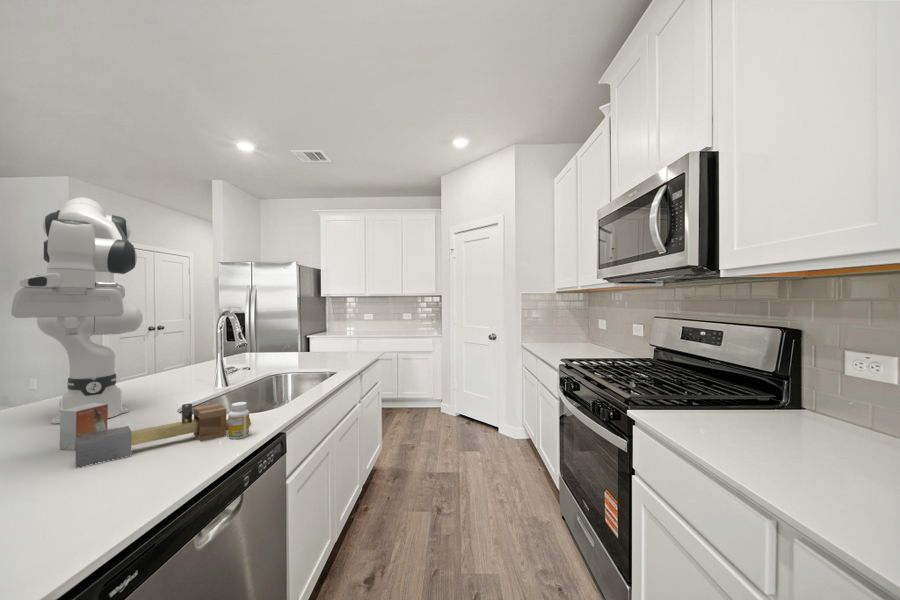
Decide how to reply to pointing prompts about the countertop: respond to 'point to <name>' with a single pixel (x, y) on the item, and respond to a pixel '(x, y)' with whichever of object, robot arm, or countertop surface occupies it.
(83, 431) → the small box
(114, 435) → the sleeve
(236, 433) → the supplement bottle
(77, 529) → the countertop surface
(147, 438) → the yellow bar with knob
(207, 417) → the socket
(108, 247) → the robot arm
